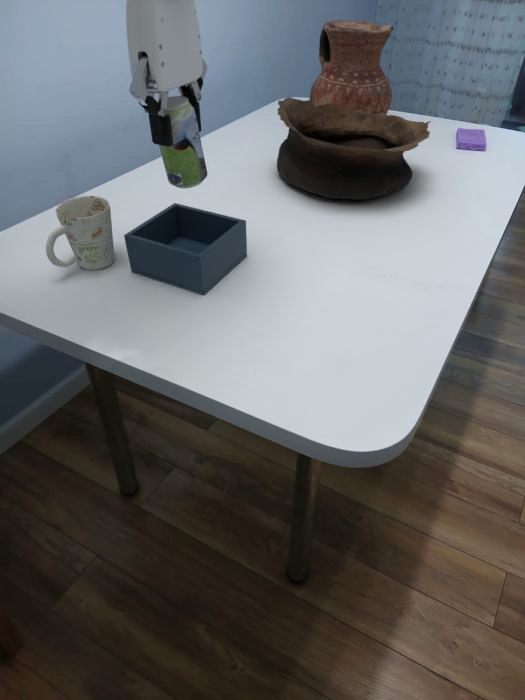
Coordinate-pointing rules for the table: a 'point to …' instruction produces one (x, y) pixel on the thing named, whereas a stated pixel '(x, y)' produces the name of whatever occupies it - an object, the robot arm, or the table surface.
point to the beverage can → (183, 146)
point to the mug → (84, 232)
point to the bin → (187, 247)
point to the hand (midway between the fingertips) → (177, 136)
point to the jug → (353, 67)
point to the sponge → (471, 139)
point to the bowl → (345, 150)
